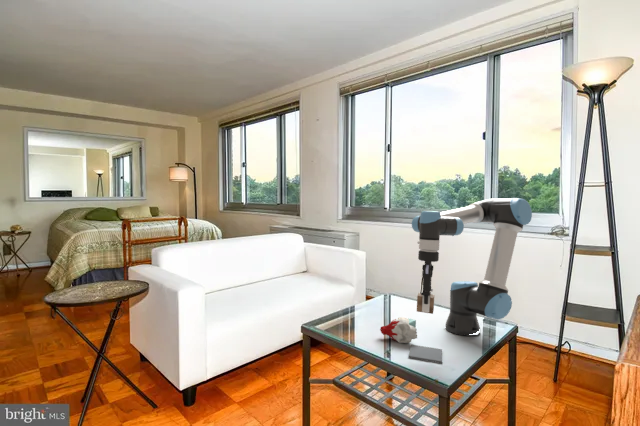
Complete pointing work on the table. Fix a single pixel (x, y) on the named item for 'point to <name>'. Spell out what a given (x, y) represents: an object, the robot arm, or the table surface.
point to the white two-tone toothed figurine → (400, 331)
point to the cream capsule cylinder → (404, 319)
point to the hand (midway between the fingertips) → (426, 309)
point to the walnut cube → (419, 303)
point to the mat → (425, 353)
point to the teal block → (412, 322)
